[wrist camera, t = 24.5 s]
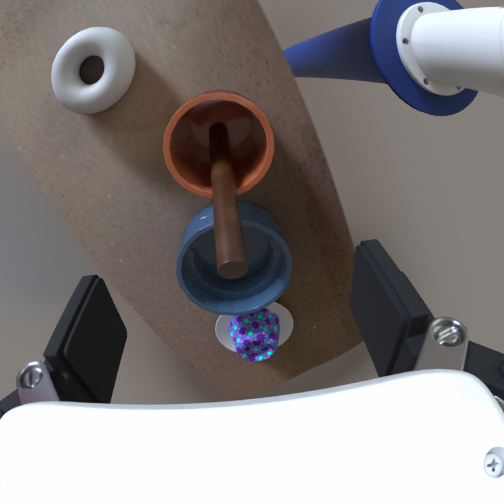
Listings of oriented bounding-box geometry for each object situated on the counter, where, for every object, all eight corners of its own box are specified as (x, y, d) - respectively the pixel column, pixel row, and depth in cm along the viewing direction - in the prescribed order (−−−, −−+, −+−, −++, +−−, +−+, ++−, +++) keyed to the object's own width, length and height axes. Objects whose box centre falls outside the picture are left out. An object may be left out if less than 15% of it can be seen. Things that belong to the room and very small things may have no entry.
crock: (257, 84, 30) (268, 86, 22) (265, 163, 35) (278, 191, 27) (171, 97, 30) (154, 104, 22) (185, 175, 35) (174, 206, 27)
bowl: (281, 192, 37) (289, 212, 32) (286, 281, 44) (294, 307, 39) (171, 208, 37) (163, 229, 32) (193, 294, 44) (190, 321, 39)
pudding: (248, 359, 52) (251, 384, 48) (199, 324, 47) (197, 349, 42) (306, 325, 49) (314, 350, 45) (261, 282, 44) (265, 307, 39)
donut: (141, 23, 25) (60, 36, 24) (134, 18, 22) (47, 34, 21) (138, 108, 30) (60, 116, 29) (130, 111, 27) (46, 121, 26)
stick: (229, 125, 31) (252, 262, 20) (224, 140, 33) (243, 280, 22) (211, 121, 31) (221, 259, 19) (206, 137, 32) (214, 278, 21)
